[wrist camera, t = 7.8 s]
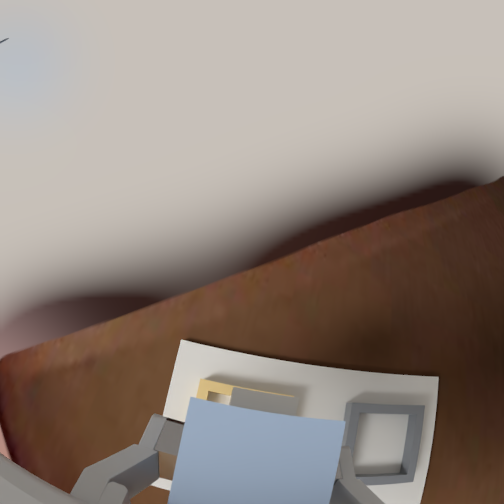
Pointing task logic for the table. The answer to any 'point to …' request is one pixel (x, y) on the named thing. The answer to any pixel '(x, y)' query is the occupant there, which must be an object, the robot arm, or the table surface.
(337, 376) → the white board with frames
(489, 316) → the table surface
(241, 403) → the plug
